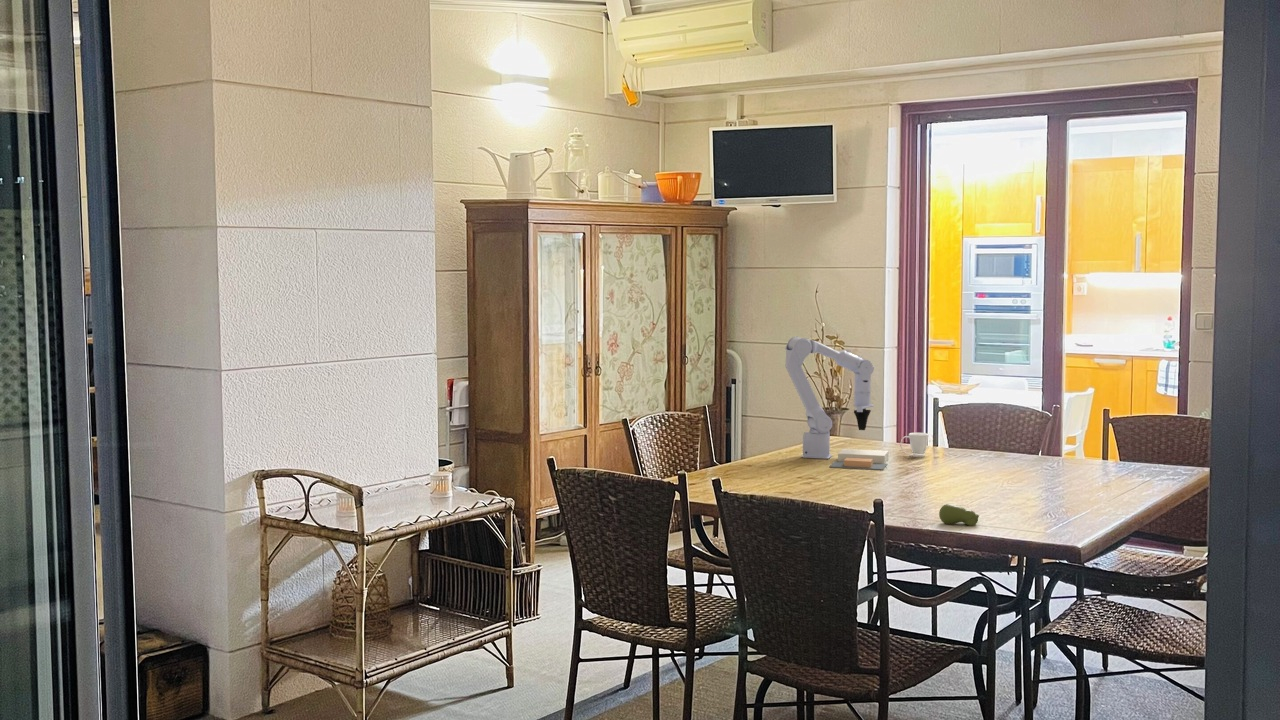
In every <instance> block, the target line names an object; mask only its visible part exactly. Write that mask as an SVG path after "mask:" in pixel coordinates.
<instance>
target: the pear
mask: <svg viewBox="0 0 1280 720" xmlns="http://www.w3.org/2000/svg"><path fill="white" fill-rule="evenodd" d="M938 513H939V514H938V515H939V519H940V522H942V523H944V524H945V523H946V524H945V525H954V524H959V523H963V524H965V525H967V526H969V527H975V526H976V525H977V524H978V521H979V517H980V515H979V514H977V513H976V512H975V511H973V510H972V509H966V508H965V507H963V506H961V505H958V504H957V505H956V504H953V503H946V504H944V505H942V506H941V508H939V512H938Z"/></svg>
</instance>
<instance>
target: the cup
mask: <svg viewBox="0 0 1280 720" xmlns="http://www.w3.org/2000/svg"><path fill="white" fill-rule="evenodd" d="M929 436H930V434H929V433H927V432H910V433H908V435H905V436H903V437H902V438H901V440H900V444H899V445H900V449H901V450H902V452H904V453H905V454H906V455H908V456H910V457H917V458H921V457H922V458H923V457H925V456H926V455H925V454H926V451H927V447H928V441H929ZM904 439H909V444H910V449H911V454H910V453H909V452H908V451H905V450H904V449H903V448H902V443H903V440H904Z"/></svg>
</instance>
